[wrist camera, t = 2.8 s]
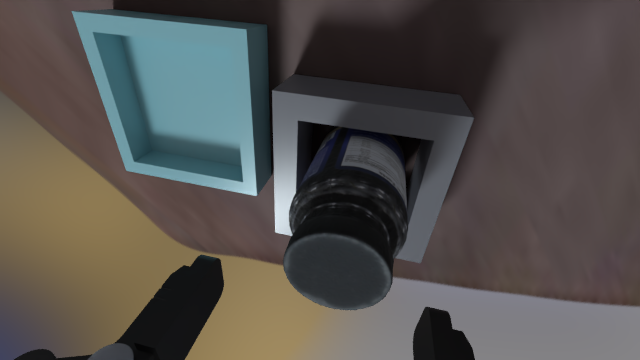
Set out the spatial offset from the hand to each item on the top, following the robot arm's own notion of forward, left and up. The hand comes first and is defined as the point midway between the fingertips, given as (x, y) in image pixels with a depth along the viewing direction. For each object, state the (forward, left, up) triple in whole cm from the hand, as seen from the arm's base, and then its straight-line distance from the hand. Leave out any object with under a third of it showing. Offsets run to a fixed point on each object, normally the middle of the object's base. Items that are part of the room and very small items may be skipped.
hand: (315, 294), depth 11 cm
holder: (-1, 0, -12) cm, 12 cm away
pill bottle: (-1, 0, -12) cm, 12 cm away
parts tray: (+12, -2, -12) cm, 17 cm away
